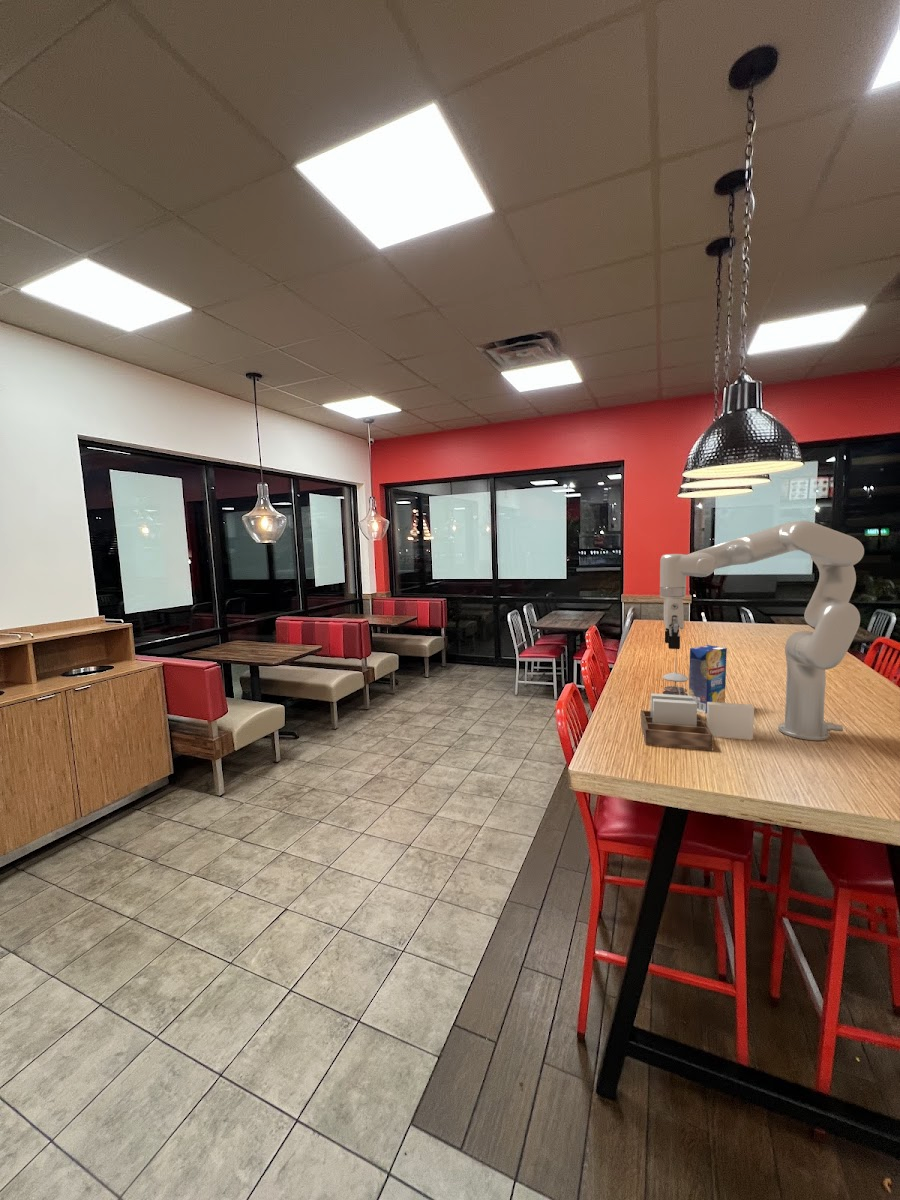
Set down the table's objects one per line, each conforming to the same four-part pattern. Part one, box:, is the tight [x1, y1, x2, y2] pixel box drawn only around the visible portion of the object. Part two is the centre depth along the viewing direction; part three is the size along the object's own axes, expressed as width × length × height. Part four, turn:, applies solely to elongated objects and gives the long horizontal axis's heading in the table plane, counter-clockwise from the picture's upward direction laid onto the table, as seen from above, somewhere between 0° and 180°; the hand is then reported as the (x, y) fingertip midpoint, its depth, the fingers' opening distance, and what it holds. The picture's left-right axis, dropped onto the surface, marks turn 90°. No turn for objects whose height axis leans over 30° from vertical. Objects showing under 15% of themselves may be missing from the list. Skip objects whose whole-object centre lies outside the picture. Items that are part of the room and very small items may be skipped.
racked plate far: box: [650, 693, 694, 717], centre depth 151 cm, size 12×3×10 cm, turn 72°
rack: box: [640, 710, 714, 752], centre depth 146 cm, size 18×18×4 cm
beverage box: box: [688, 644, 728, 715], centre depth 170 cm, size 7×11×22 cm, turn 120°
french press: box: [661, 649, 689, 696], centre depth 161 cm, size 10×12×25 cm
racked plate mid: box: [652, 699, 698, 726], centre depth 145 cm, size 12×3×10 cm, turn 72°
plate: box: [705, 702, 755, 741], centre depth 145 cm, size 12×3×10 cm, turn 72°
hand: (672, 645), depth 152 cm, fingers open, 9 cm apart
